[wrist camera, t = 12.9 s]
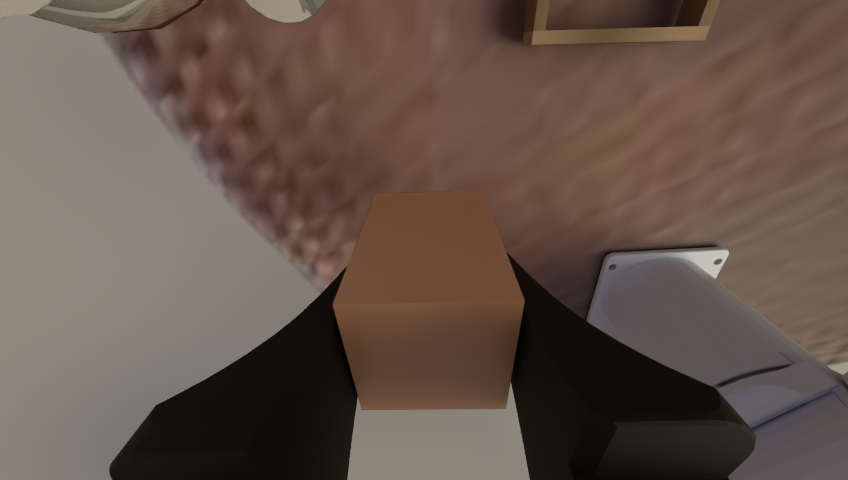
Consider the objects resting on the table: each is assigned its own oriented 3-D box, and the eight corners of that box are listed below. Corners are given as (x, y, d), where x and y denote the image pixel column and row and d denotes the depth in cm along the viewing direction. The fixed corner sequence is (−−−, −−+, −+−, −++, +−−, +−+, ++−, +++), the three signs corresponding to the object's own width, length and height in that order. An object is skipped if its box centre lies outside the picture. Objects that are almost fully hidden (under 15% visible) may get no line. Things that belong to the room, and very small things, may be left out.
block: (477, 274, 15) (505, 408, 9) (387, 276, 15) (361, 409, 9) (482, 190, 12) (524, 300, 7) (375, 193, 12) (332, 304, 7)
